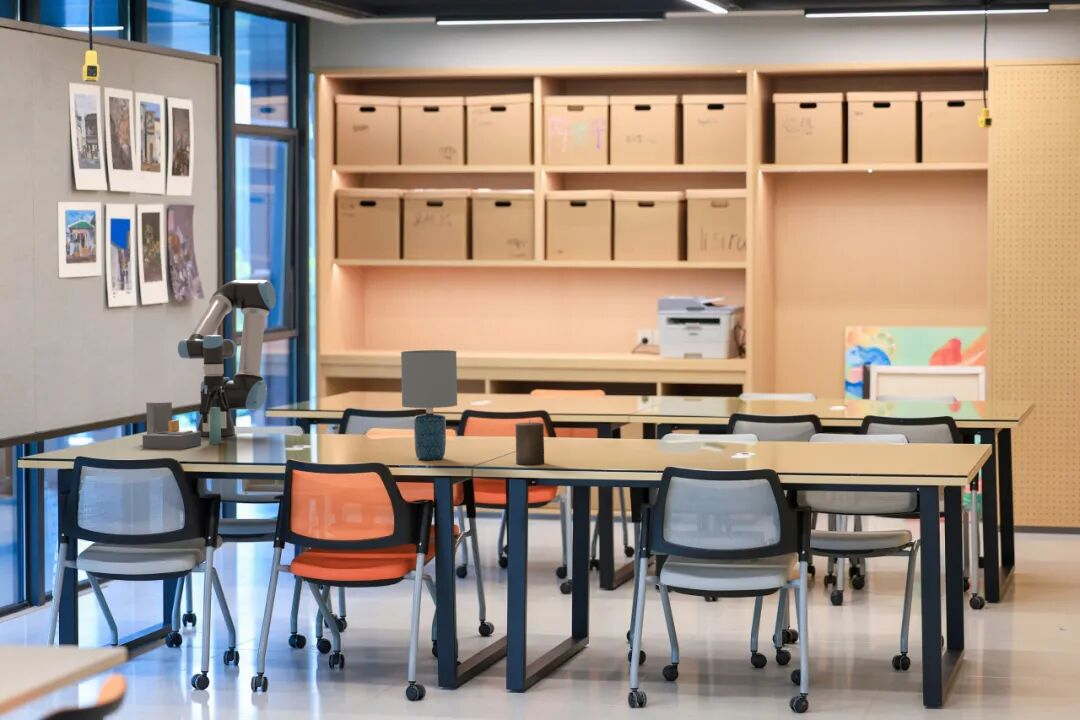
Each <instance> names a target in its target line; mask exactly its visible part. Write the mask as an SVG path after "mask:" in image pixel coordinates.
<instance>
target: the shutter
mask: <svg viewBox="0 0 1080 720" xmlns="http://www.w3.org/2000/svg"><path fill="white" fill-rule="evenodd" d="M168 424H169V432H168V434H187V433H192V432H193V430H192V429H191V430H190V429H189V430H188V429H180V420H179V419H174V420H173V419H172V421H168Z"/></svg>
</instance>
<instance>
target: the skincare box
mask: <svg viewBox="0 0 1080 720" xmlns="http://www.w3.org/2000/svg"><path fill="white" fill-rule="evenodd" d="M145 405H146V406H145V407H146V434H151V433H156V432H161V431H169V424H168V421H173V407H172V406H173V403H172V401H169V402H168V401H167V402H166V401H165V402H164V401H156V402H154V401H153V402H146V403H145Z"/></svg>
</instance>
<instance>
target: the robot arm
mask: <svg viewBox="0 0 1080 720" xmlns="http://www.w3.org/2000/svg"><path fill="white" fill-rule="evenodd" d="M273 285H274V284H273V283H272V282H271V281H269V280H264V279H263V280H262V279H258V280H257V279H255V280H254V279H250V280H243V279H242V280H241V279H240V280H239V279H237V280H236V279H235V280H231V281H229V282H227V283H225V284H223V285H222V286H220V287H219V288H218V289H217V290H216V291H215V292H214V293H213V294H212V296H211V297H210V299H209V301H208V302H209V305H208V307H207V309H206V310H205V312H204V314H203V315H202V317H201V318H200V320H199V321H198V323H197V324H196V327H195V328H194V329H193V332H192V333H191V334H190V336H189V338H188V339H187V338H185V339H181V340H180V341H179V342H178V345H177V353H178V355H179V357H180V358H182V359H189V360H190V359H191V360H194V359H195V360H196V359H200V360H201V359H203V366H202V369H203V374H204V376H203V380H202V382H201V383H200V391H199V393H200V407H199V411H198V412H199V415H201V416H200V420H199V423H198V425H197V431H196V432H201V437H209V432H210V415H209V411H210V408H211V407H220V416H221V437H228V436H234V435H235V434H236V428H235V425H234V421H233V419H232V416H231V410H248V411H253V410H259V409H261V408H262V407H263V406H264V404H265V403H266V400H267V396H268V386H267V385H268V384H267V383H266V381H265V380H264V377H263V376H262V375H261V364H262V363H261V362H262V351H263V343H264V333H265V321H266V317H268V316H269V314H270V309H271V310H272V309H274V308H275V306H276V303H277V298H276V297H277V296H276V290H275V287H274V286H273ZM234 309H240V312H241V313H242V315H243V324H242V331H241V332H242V333H241V343H240V351H239V364H238V371H237V372H236V373H235V374H234V376H233V380H231V379H230V377H229V376H227V377H225V376H224V373H225V372H224V371H225V370H224V359H227V360H228V359H230V358H233V357H234V356H235V355H236V354H237V351H238V346H237V343H236V342H235V341H234V340H232V339H228V338H223V336H222V335H220V334H217V335H216V334H215V333H216V331H217V330H218V328H219V326H220V325H221V323H222V321H223V320H224V318H225V317H226V315H228V314H230V313H231V312H232V310H234Z"/></svg>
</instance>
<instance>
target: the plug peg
mask: <svg viewBox="0 0 1080 720" xmlns="http://www.w3.org/2000/svg"><path fill="white" fill-rule="evenodd" d="M209 415H210V432H209V436H208V437H209V445H221V444H222V436H221V416H220V407H211V408H210V411H209Z"/></svg>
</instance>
